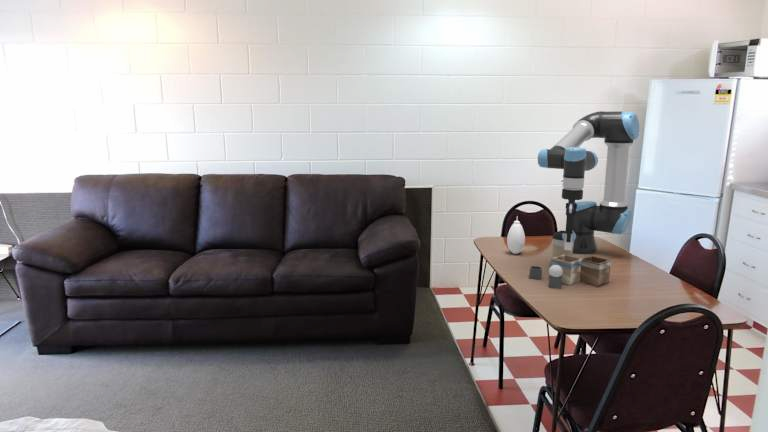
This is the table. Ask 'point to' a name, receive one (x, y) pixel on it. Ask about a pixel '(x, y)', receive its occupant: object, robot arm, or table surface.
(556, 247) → the coffee cup
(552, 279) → the stand grey
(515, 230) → the sauce bottle
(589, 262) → the brown open container
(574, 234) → the ball blue
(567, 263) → the open beige box
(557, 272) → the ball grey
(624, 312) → the table surface
